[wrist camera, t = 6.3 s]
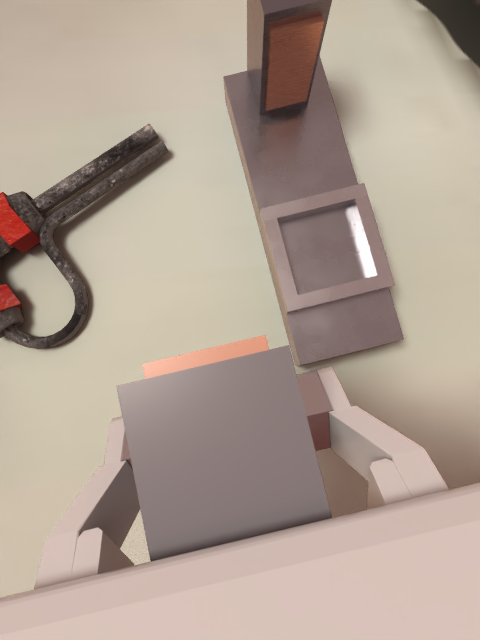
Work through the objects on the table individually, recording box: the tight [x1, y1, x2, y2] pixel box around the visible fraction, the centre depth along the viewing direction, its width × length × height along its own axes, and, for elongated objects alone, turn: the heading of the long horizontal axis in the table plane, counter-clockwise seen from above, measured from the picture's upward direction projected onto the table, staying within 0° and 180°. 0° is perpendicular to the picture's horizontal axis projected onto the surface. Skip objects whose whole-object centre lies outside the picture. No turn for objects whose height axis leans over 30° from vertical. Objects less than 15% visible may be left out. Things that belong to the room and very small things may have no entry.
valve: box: [0, 124, 168, 349], centre depth 32 cm, size 6×26×15 cm
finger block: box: [116, 335, 332, 561], centre depth 13 cm, size 4×4×9 cm
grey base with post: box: [224, 0, 404, 365], centre depth 27 cm, size 8×24×12 cm, turn 14°
